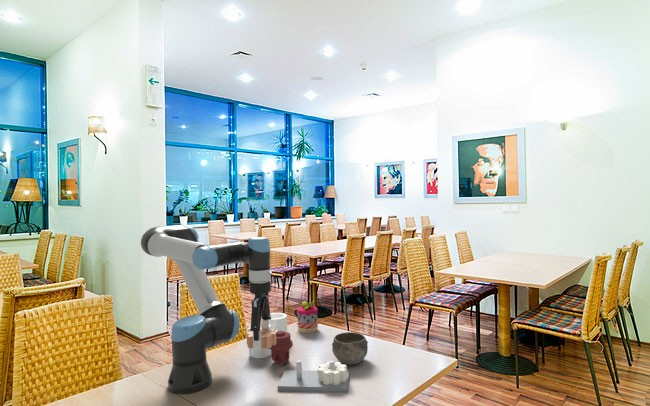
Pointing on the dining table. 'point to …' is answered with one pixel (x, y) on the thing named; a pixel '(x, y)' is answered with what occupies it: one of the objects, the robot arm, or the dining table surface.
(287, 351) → the mechanical component
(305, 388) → the gear board
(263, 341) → the gear
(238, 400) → the dining table surface
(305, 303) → the cake
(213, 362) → the dining table surface
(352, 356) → the bowl
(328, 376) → the gear
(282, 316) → the white joined open cylinders
